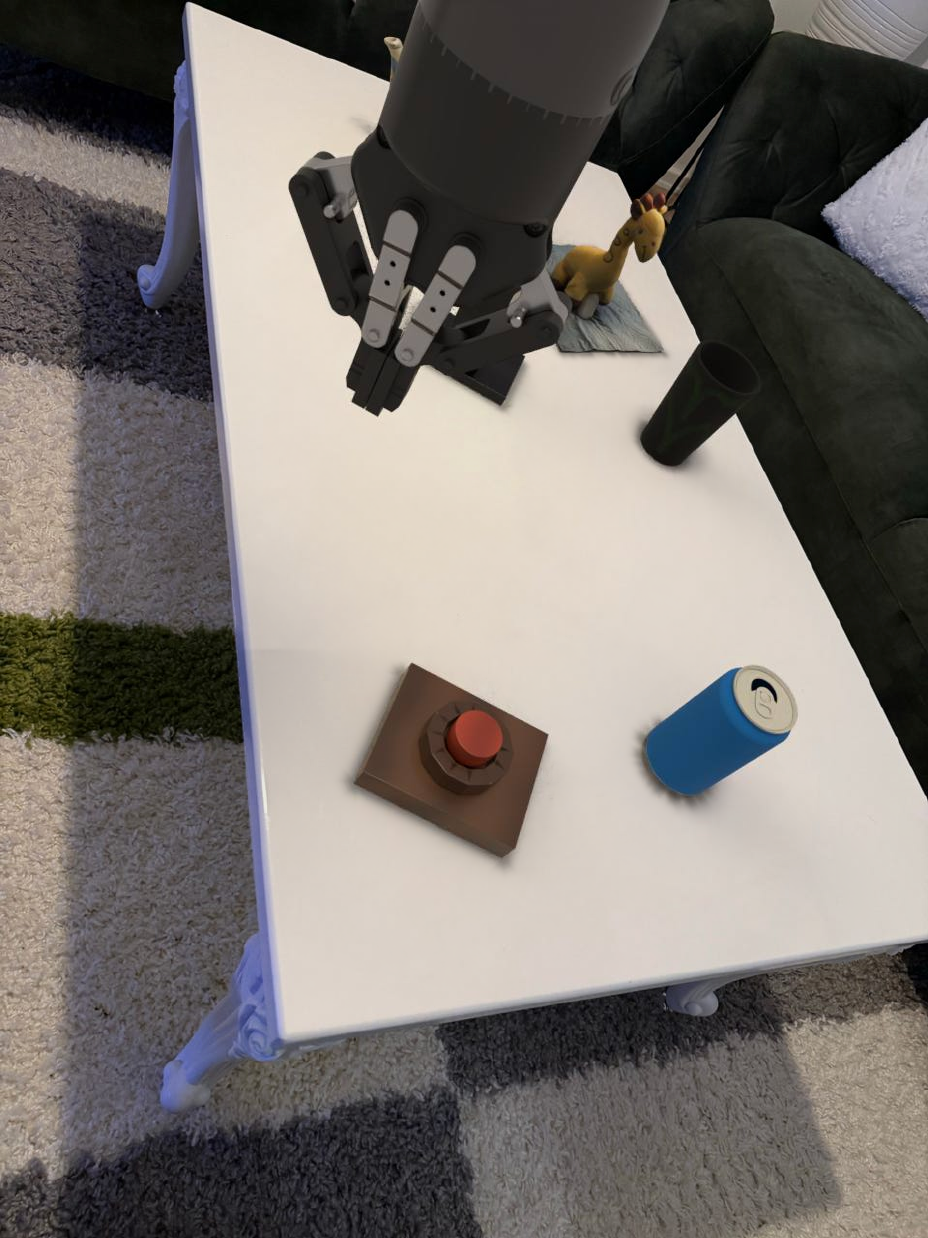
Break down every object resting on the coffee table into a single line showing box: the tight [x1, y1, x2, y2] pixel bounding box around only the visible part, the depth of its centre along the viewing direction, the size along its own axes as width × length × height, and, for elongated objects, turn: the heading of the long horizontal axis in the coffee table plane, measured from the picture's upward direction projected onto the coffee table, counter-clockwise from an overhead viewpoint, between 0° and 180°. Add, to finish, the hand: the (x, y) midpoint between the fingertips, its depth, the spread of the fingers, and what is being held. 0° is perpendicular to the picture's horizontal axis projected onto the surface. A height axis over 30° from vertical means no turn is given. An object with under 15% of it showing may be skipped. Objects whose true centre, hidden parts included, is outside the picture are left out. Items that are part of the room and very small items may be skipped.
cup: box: [640, 339, 762, 467], centre depth 93 cm, size 8×8×12 cm
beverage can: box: [645, 664, 799, 796], centre depth 70 cm, size 6×6×12 cm
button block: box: [353, 662, 549, 859], centre depth 64 cm, size 12×10×4 cm
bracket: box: [429, 286, 526, 406], centre depth 87 cm, size 12×8×13 cm, turn 71°
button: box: [446, 710, 503, 767], centre depth 62 cm, size 4×4×2 cm
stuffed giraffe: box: [545, 192, 669, 353], centre depth 101 cm, size 16×18×16 cm
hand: (370, 399), depth 43 cm, fingers closed
